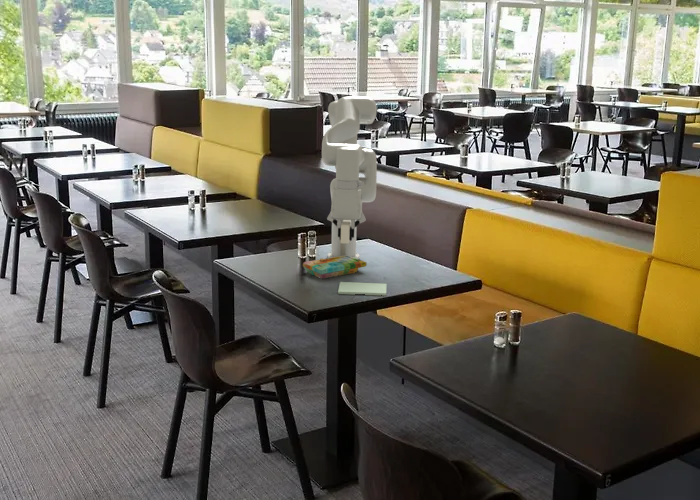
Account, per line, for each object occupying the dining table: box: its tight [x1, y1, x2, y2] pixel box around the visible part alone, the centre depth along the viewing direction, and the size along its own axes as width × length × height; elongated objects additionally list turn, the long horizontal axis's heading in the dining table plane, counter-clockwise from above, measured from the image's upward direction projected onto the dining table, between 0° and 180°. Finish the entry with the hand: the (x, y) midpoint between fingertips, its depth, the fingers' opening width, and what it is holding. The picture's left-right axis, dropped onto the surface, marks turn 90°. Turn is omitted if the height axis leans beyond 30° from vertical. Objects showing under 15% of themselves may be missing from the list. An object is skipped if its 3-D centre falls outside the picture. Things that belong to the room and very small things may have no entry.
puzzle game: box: [302, 255, 367, 279], centre depth 287 cm, size 12×5×20 cm
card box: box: [341, 220, 351, 244], centre depth 263 cm, size 9×3×6 cm, turn 175°
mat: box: [337, 281, 388, 297], centre depth 267 cm, size 11×16×1 cm
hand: (345, 239), depth 264 cm, fingers closed on card box, 2 cm apart
